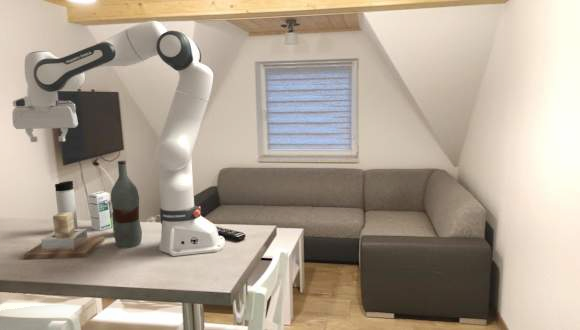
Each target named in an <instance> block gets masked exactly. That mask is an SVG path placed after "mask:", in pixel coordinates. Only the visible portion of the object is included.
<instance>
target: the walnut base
mask: <svg viewBox="0 0 580 330" xmlns="http://www.w3.org/2000/svg"><path fill="white" fill-rule="evenodd" d="M87 237H88V240H86V241H85V242H84V243H83V244H81V245H80V246H79V247H78V248H76V249H75V250H60V251H42V243H41V242H40V243H39V244H37V245H35V246H34V247H33V248H32V249H30V250H28V251H27V252H25V253H24V254H23V255H22V257H23V260H34V259H60V258H61V259H62V258H64V259H65V258H86V257H87V256H88V255H90V254H91V253H92V252H93V251H94V250H95V249H97V247H99V246H100V245H101V244H102V243H103V242H105V236H103V235H102V236H101V235H99V236H87Z"/></svg>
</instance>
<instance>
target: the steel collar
mask: <svg viewBox="0 0 580 330" xmlns="http://www.w3.org/2000/svg"><path fill="white" fill-rule="evenodd" d="M74 231H75V234H73V235H72V236H70V237H55V231H54V230H53V231H52V232H51V233H49V234H48V235H46V236H45V237H43V238H42V239H41V240H40V241H41V242H40V243H42V251H60V250H75V249H76V248H78V247H79V246H80V245H81V244H83V243H84V242H85V241H86V240H88V237H89V236H88V229H87V228H78V229H74Z"/></svg>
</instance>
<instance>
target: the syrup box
mask: <svg viewBox="0 0 580 330" xmlns="http://www.w3.org/2000/svg"><path fill="white" fill-rule="evenodd" d="M87 198H88V205H89V214H90V223H91V229H92V230H95V231H99V232H100V231H104V230H107V229H110V228H113V220H112V204H111V193H110V192H108V191H106V190H105V191H104V190H103V191H97V192H93V193H88V194H87Z"/></svg>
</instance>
